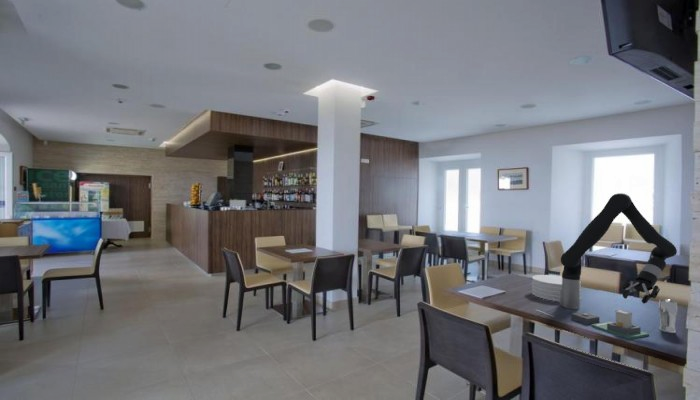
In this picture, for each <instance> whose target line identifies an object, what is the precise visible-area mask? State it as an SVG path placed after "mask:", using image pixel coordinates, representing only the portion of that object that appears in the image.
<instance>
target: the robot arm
mask: <svg viewBox="0 0 700 400" xmlns="http://www.w3.org/2000/svg"><path fill="white" fill-rule="evenodd" d="M621 213H622V214H623V215H624V216H625V217H626V218H627V219H628V220H629V222H630V223H631V225H632V226H633V228H634V229H635V231H636V232H637V233H638V235H639V236H640V237H641V238H642V239H643V240H644V241H645V243H647V244H648V245H649V244H652V245H654V246H655V247H654V248H653V249H652V250H651V252H650V255H649V258H648V260H647V262H646V263H645V265H644V266H643V267H642V268H641V270H640V271H639V273H638V274H637V276H636V277H635V278H636V279H635V280H634V281H632V280H630V279H627V280H626V281H625V283H624V284H623V286H622V289H623V293H622V298H623V299H625V300H626V299H627V298H628V297H629V295H630V294H631V293H634V292H638V293H639V292H641V293H645V295H643V297H642V299H641V303H642V304H644V305H645V304H647V303H648V302H649V300H650V299H651V298H652V299H656V298H657V296H658V295H659V293H660V287H659V286H658V285H656V283H657V282H658V280H659V278H660V277H661V275H662V272H663V271H664V270H665V268H666V265H667V262H666V259H667V260H668V259H669V258H672V257H674V256H676V254H677V253H678V249H677V248H676V246H675V245H674V244H673V243H672V242H671V241H669V240H668V239H667V238H665V237H664V236H663V235H661V234H660V233H659V232H658V231H657V229H656V228H654V226H652V224H651V223H650V222H649V221H648V220H647V219H646V217H644V216H643V214H642V213H641V212H640V211H639V210H638V208H637V207H636V205H635V204H634V202H633V200H632V199H631V196H630V195H629V194H626V193H623V192H621V193H619V192H618V193H615V194H613V195H611V196H610V198H609V199H608V201H607V202H606V204H605V205H604V207H603V209H602V210H601V211H600V212H599V213H598V214H597V215H596V216H595V217H594V218H593V219H592V220H591V221H590V222H589V223H588V225H587V226H586V227H585V228H584V229H583V231H581V233H580V234H579V236H578V237H577V239H576V240H575V241H574V243H573V244H572V245H571V246H570V247H569V248H568V249H567V250H565V252H563V254H562V255H561V256H560V263H561V265H562V266H563V270H562V273H561V276H562V289H561V290H560V302H559V305H560V306H561V307H563V308H566V309H569V310H570V309H571V310H579V309H581V307H580V305H581V304H580V303H581V300H580V298H581V297H580V294H581V293H580V290H581V289H580V286H581V285H580V282H581V275H582V263H583V262H582V257H583V256H584V254H585V253H586V252H588V250H590V249H591V248H593V246H595V245H596V244H597V243H598V242H599V241H600V240H601V239H602V238H603V237H604V236H605V234H606V233H607V232H608V231H609V229H610V227H611V225H612V224H613V222H614V220H615V219H616V218H617V217H618V216H620V214H621ZM650 291H651V293H650Z"/></svg>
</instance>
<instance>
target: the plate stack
mask: <svg viewBox="0 0 700 400" xmlns="http://www.w3.org/2000/svg"><path fill="white" fill-rule="evenodd" d="M531 279H532V281H531V290H532V291H531V295H532V294H533V295H535V296H537V297H540V298H544V299H548V300H553V301H552V302H554V301H560V290H561V289H562V275H554V274H552V275H551V274H536V275H532V277H531ZM581 285H582V282H581V281H580V301H581V295H582V291H581V289H582V286H581ZM533 295H532V296H533ZM535 296H534V297H535ZM537 297H536V298H537ZM540 298H539V299H540ZM544 299H543V300H544ZM548 300H547V301H548Z"/></svg>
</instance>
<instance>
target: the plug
mask: <svg viewBox="0 0 700 400" xmlns="http://www.w3.org/2000/svg"><path fill="white" fill-rule="evenodd" d="M632 319H633V313H632V312H630V311H627V310H624V309H619V310H615V322H616V326H619V327H622V328H625V329H627V328H632V325H633V324H632V323H633V320H632Z"/></svg>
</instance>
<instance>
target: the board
mask: <svg viewBox="0 0 700 400" xmlns="http://www.w3.org/2000/svg"><path fill="white" fill-rule="evenodd" d="M590 326H591V327H592V328H594V329H598V330H601V331H603V332H606V333H609V334H612V335H615V336H618V337H621V338H624V339H627V340H634V339H640V338H645V337H649V336H650V333H649V332H648V333H647V332H645V331H641V329H642V328H641V326H638V325H635V324H632V328H627V329H625V328H622V327H619V326H616V321H604V322H599V323H594V324H590Z"/></svg>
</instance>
